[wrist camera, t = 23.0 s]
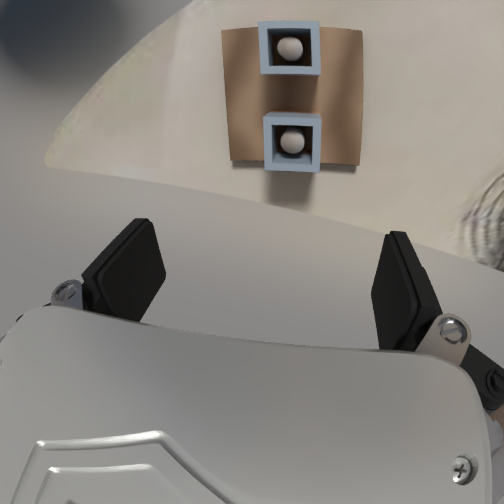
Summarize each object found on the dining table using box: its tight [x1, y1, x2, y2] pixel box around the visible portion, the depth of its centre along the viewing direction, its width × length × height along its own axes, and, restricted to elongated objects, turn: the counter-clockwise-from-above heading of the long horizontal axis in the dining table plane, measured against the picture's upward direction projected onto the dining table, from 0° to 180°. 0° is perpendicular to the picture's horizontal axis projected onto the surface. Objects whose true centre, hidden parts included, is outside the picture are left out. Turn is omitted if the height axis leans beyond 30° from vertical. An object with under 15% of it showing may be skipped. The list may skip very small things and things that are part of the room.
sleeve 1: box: [258, 21, 321, 76], centre depth 23 cm, size 6×6×6 cm
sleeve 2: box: [263, 111, 322, 173], centre depth 28 cm, size 6×6×6 cm
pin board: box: [221, 27, 363, 166], centre depth 27 cm, size 16×17×6 cm
